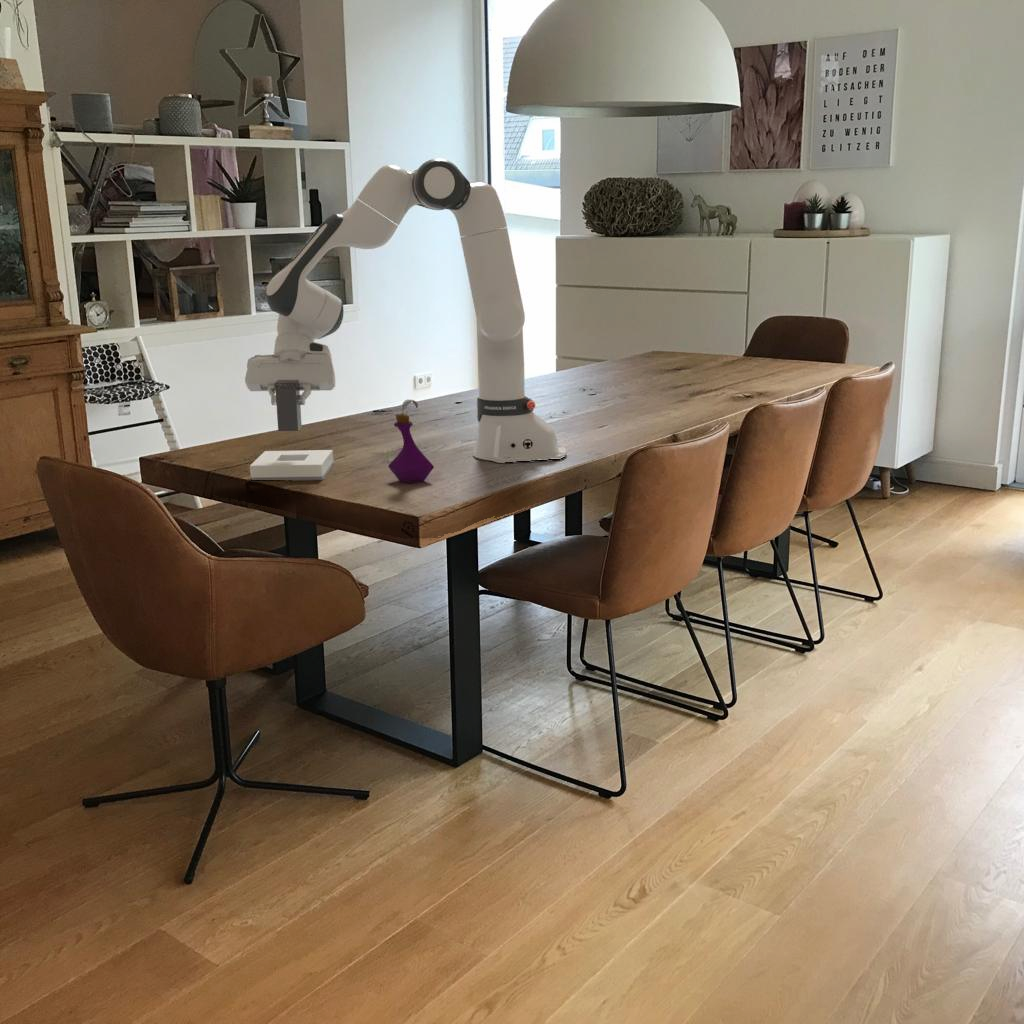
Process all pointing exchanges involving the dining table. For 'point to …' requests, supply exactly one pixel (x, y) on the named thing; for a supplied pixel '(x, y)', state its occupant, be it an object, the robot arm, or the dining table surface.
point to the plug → (288, 405)
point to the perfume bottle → (409, 453)
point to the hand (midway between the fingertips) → (287, 403)
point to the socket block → (292, 465)
